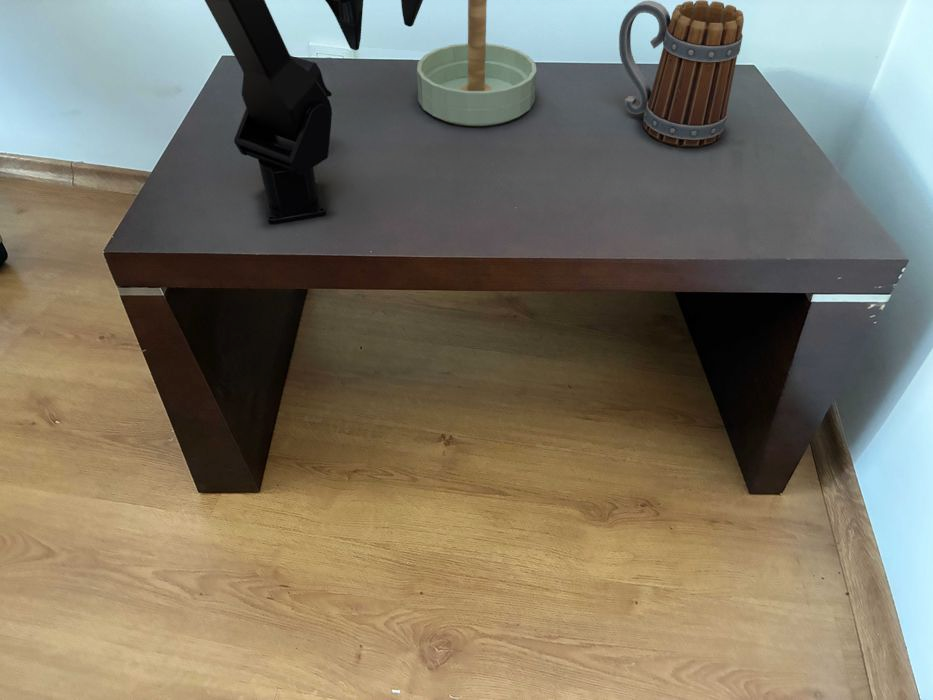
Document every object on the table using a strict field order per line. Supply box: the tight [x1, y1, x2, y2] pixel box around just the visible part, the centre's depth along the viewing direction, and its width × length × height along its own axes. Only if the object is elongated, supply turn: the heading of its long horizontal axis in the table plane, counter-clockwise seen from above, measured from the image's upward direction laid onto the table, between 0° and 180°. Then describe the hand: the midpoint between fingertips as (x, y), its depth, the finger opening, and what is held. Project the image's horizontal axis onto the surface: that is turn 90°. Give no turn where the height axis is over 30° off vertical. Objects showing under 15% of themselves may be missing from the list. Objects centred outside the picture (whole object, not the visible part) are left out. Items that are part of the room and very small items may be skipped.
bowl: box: [416, 42, 537, 127], centre depth 99 cm, size 16×16×5 cm
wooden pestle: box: [461, 0, 492, 91], centre depth 95 cm, size 4×4×14 cm
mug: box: [618, 0, 745, 148], centre depth 90 cm, size 16×11×15 cm
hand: (382, 37), depth 84 cm, fingers open, 9 cm apart
